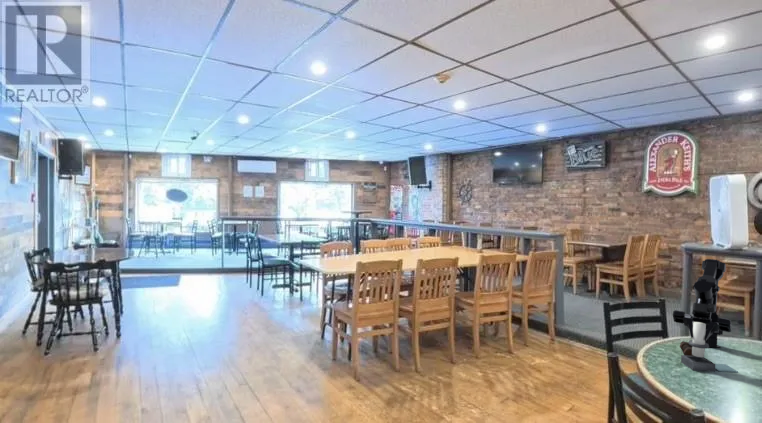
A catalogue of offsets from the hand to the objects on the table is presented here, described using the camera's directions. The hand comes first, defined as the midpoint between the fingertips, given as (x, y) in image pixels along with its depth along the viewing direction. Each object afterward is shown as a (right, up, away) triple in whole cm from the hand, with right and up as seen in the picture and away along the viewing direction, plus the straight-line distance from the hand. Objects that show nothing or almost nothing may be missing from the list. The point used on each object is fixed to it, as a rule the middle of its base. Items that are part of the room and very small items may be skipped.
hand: (698, 338), depth 166 cm
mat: (+10, -12, 0) cm, 15 cm away
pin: (+1, -7, +1) cm, 7 cm away
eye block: (+1, -12, +2) cm, 12 cm away
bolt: (+7, -12, +15) cm, 20 cm away
